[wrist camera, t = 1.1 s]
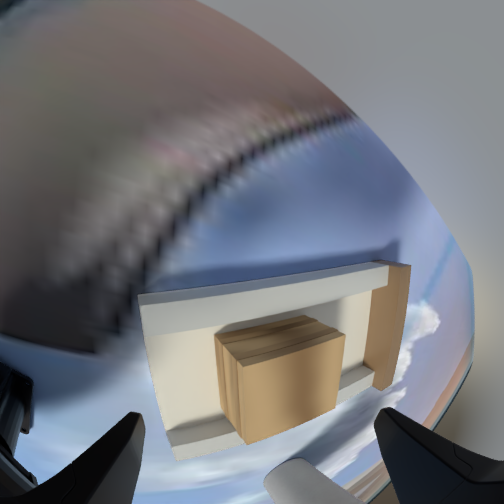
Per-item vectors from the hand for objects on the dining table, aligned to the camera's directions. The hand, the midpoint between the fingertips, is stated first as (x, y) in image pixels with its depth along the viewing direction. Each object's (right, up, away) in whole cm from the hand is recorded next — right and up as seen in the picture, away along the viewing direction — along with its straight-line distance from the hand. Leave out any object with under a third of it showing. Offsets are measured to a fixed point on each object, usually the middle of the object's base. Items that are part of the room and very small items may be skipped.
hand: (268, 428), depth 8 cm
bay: (+3, -3, +15) cm, 16 cm away
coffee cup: (+4, -22, +18) cm, 29 cm away
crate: (0, -3, +13) cm, 14 cm away
